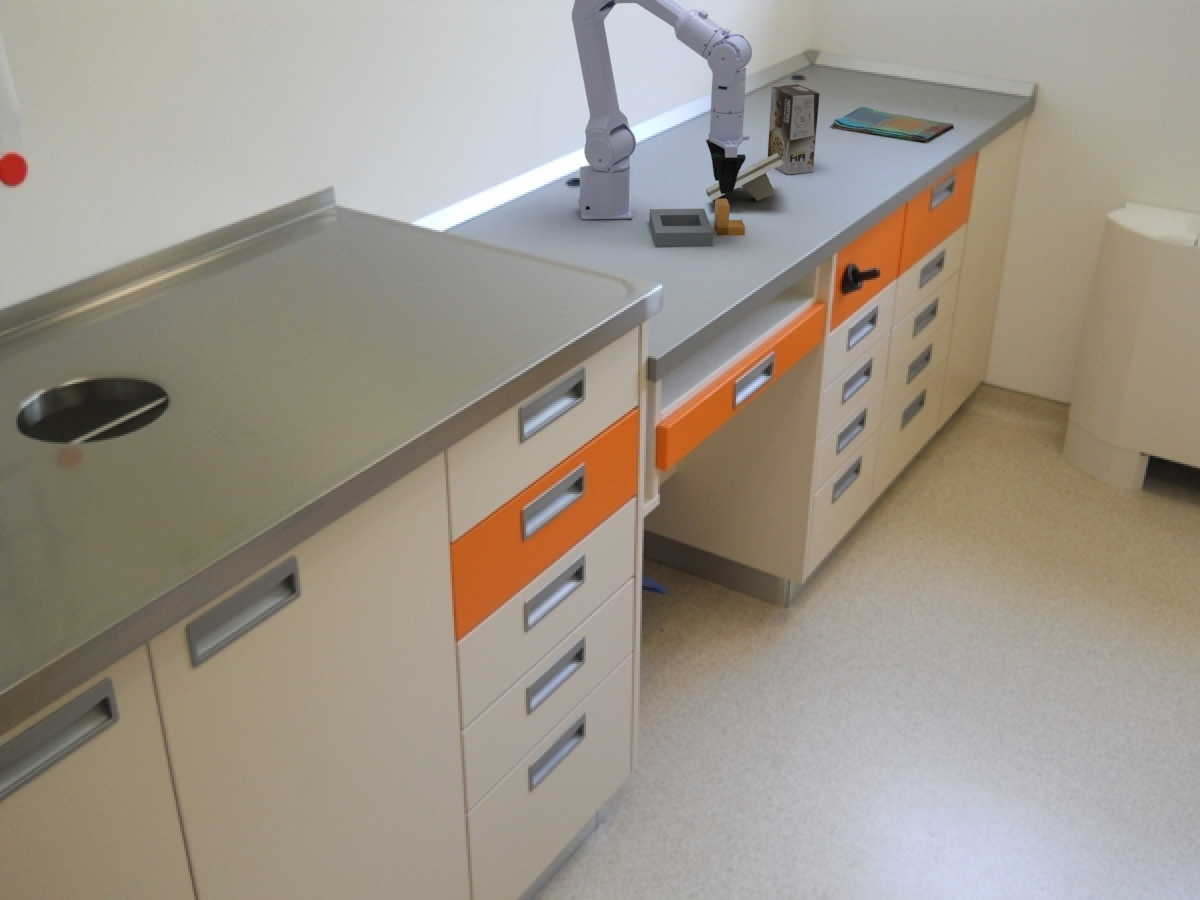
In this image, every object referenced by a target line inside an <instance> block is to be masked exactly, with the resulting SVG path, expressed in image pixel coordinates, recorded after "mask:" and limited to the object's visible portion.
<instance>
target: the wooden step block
mask: <svg viewBox="0 0 1200 900" xmlns="http://www.w3.org/2000/svg"><path fill="white" fill-rule="evenodd" d="M714 200H715V201H714V203H715V204H714V222H713V223H714V224H713V229H714V231H715V235H716V236H745V235H746V226H745V224H744V221H743V219H730V207H731V205H730V204H729V201H728V199H727V198H716V199H714Z"/></svg>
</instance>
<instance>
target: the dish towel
mask: <svg viewBox="0 0 1200 900" xmlns="http://www.w3.org/2000/svg"><path fill="white" fill-rule="evenodd" d="M829 127H830V128H832V129H834V130H839V131H847V132H856V133H862V134H869V135H874V136H881V137H886V138H890V139H891V138H893V139H897V140H904V141H909V142H915V143H922V144H925V145H926V144H928V143H930V142H932V141H933V140H935V139H937V138H939V137H941V136H943V135H944V134H945V133H948V132H949V131H951V130H953V129H954V128H955V126H954V124H953V123H952V122H951V123H949V122H942V121H938V120H937V121H936V120H932V119H926V118H921V117H916V116H911V115H910V116H909V115H903V114H898V113H896V114H895V113H888V112H885V111H879V110H876V109H873V108H870V107H868V106H859V107H857V108H856V109H854V111H851V112H849V113H847V114H846V115H844V116H843V117H839V118H835V119H834V120H833V122H832V124H831V125H830V126H829Z"/></svg>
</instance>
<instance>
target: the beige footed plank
mask: <svg viewBox="0 0 1200 900" xmlns="http://www.w3.org/2000/svg"><path fill="white" fill-rule="evenodd" d="M782 164H783V161H782V160H781V159H780V157H779V155H778V153H776V154H774V155H772V156H770V157H768V156H767V157H765V158H764V159H761V160H759V161H757V162H756V163H754V164H752V165H750V166H748V167H747V168H744V169H743V170H741V171H740V170H739V173H738V176H737V180H736V184H735V187H734V190H735V189H738V188H740V187H742V188H743V189H744V190H745V191H746V192H747V193H748V194H749V195H750V196H751V197H752V198H753V199H754V200H756V201H757V202H758V201H761V200H763V199H765V198H767V197H768V196H771V195H773V194H775V191H774V188H773V186H772V184H771V181H770V179H769V177H768V174H767V173H769V172H770V171H772V170H774V169H776V167H778V166H780V165H782ZM706 191H707V194H708V195H709V196H708V197H709V199H710V202H713V201H714V200H716V199H719V198H720V197H723V196H724V195H725V194H721V192H720V188H719V181H718V182H717V183H715V184H712V185H710V186H707V188H706Z"/></svg>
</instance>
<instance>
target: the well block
mask: <svg viewBox="0 0 1200 900" xmlns="http://www.w3.org/2000/svg"><path fill="white" fill-rule="evenodd" d="M648 221H649V226H650V230H651V234H652V237H653V241H654V246H655V247H656V248H657V247H662V248H663V247H713V243H714V241H713V239H714V231H713V229H712V226H711V223H710V220H709V217H708V215H707V213H706V210H705V208H649V220H648Z"/></svg>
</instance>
